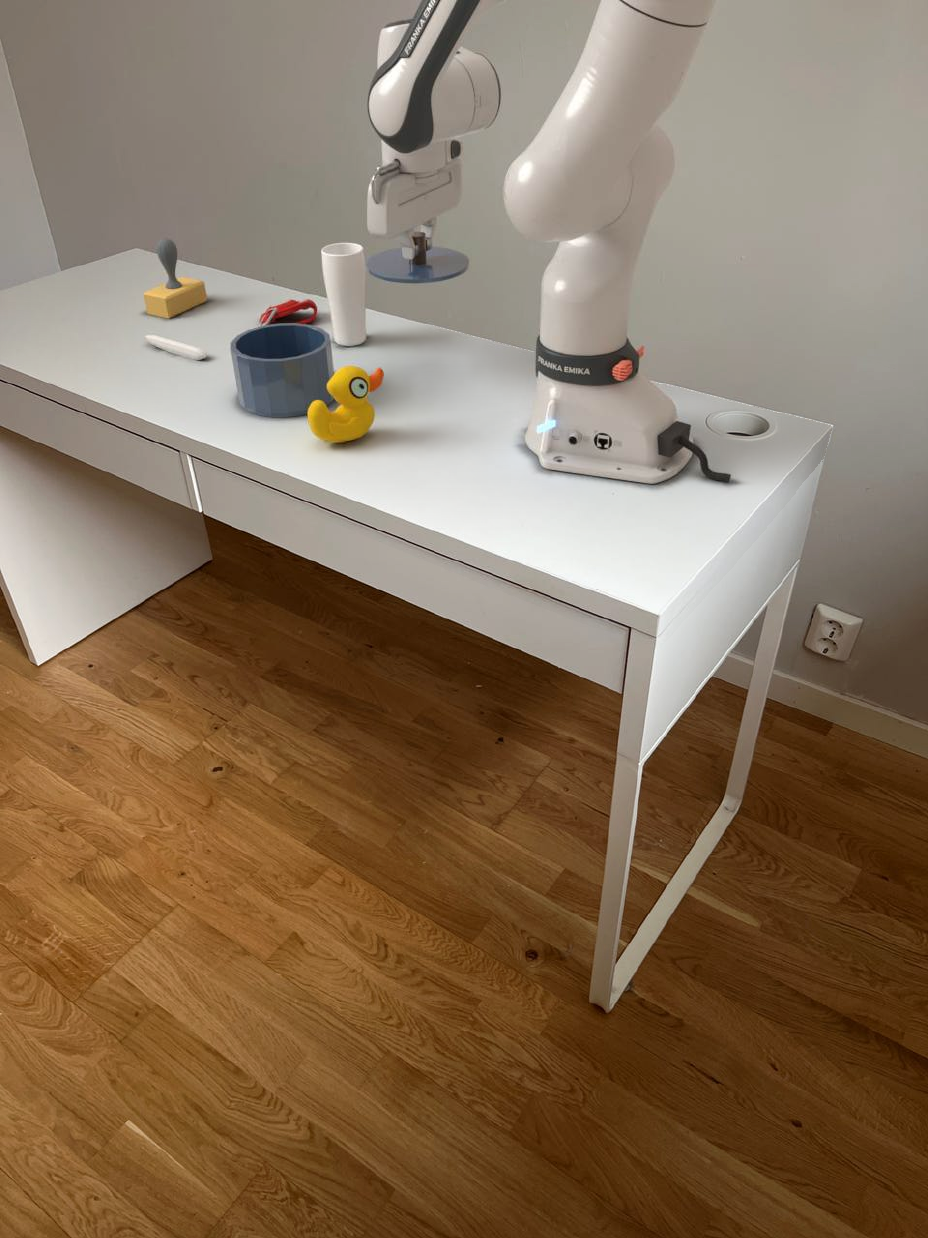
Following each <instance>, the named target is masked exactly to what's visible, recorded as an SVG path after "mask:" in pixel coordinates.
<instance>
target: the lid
mask: <svg viewBox="0 0 928 1238" xmlns="http://www.w3.org/2000/svg"><path fill="white" fill-rule="evenodd" d="M412 239H413V242H414V244H416V245H418V256H417V257H415V258H413V259H411V260H410V259H405V258H404V257H403V252H402V246H401V247H395V248H391V249H387V250H383V251H381V252H378V253H375V254H373V255H372V256H371V257H369V258H368V259H367V260H366V262H365V270H366V272H367V273H368V274H370V275H371V276H373V277H374V278H376V279H379V280H382V281H387V282H391V283H399V284H430V283H437V282H443V281H447V280H451V279H455V278H456V277H460V276H461V275H463V274H465V273H466V272H467V271H468V270H469V268H470V258H469V257H468V256H467V255H466V254H464V253H462V252H460V251H458V250H455V249H453V248H452V249H451V248H446V247H440V246H433V245H432V249H430V250H428V251H426V234H425V233H424V232H420V231H414V235H413V236H412Z"/></svg>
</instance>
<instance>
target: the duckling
mask: <svg viewBox="0 0 928 1238" xmlns="http://www.w3.org/2000/svg"><path fill="white" fill-rule="evenodd" d="M384 376H385V372H384V369H383V368H382V367H377V368H376V370H375V371H374V372H373V373H372V374H370V375H369V374H368V373H367V372H366V371H365V370H364V369H363V368H361V367H358V366H356V365H345V366H343V367H340V368H339V369H338V370H336V372H334V375H333V376H332V378H331V379H330V380H329V381H328V383H327V390H328V392H329V393H330V394H331V395H332V396H333V397H334V399H333V400H335V401H336V403H338V404H340V405H339V406H338V407H337V408H335V410H333V411H330V409H329V407H328V405H327V406H326V405H325V403H324V402H323V401H321V400H315V401H313V402H312V403H311V405H310V407H309V409H308V414H307V422H308V423H309V424H308V425H309V428H310V430H311V432H312V434H313V435H314V436H315V437H316V438H318V439H319V440H321V441H323V442H326V443H327V442H328V443H336V444H337V443H338V444H339V443H345V442H350V441H355V440H358V439H360V438H362V437H363V436H365V434H367V432H368V431H369V430H370V428H371V427H372V425H373V423H374V421H375V417H376V416H375V414H376V413H375V409H374V407H373V405H372V404H371V402H370V401H368V400H367V398H368V396H369V393H373V392H375V391H377V389H379V388H380V387H381V386H382V384H383V381H384Z"/></svg>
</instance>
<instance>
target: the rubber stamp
mask: <svg viewBox="0 0 928 1238" xmlns="http://www.w3.org/2000/svg"><path fill="white" fill-rule="evenodd" d="M156 254H157V256H158V259H159V261H160V263H161V265H162V267H163V268H164V270H165V272H166V274H167V278H168V281H167V282H164V283H162V284H161V285H158V286H155V287H154V288H151V289H149V290H147V291H144V292H143V299H144V304H145V309H146V313H147V315H150V316H154V317H159V318H165V319H168V320H169V319H171V318H173V317H176V316H178V315H180V314H182V313H185V312H186V311H189V310H191V309H193V308H195V307H197V306H200V305H202V304H204V303H206V302H208V297H207V296H208V295H207V291H206V285H205V281H203V280H199V279H194V278H189V277H184V276H179V277H176V268H177V263H178V262H177V261H178V248H177V245H176V243H175V242H174V241H173V240H171V239H170V238H167V237H166V238H161V239H159V241H158V242H157V243H156Z"/></svg>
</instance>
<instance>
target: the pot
mask: <svg viewBox="0 0 928 1238" xmlns="http://www.w3.org/2000/svg"><path fill="white" fill-rule="evenodd" d="M229 349H230V354H231V361H232V367H233V368H232V369H233V373H234V379H235V386H236V391H237V392H236V393H237V397H238V398H237V399H238V402H239V405H240V407H242V408H243V409H244V410H245V411H246V412H248V413H251V414H253V415H256V416H261V417H267V418H291V417H298V416H303V415H308V409H309V407H310V405H311V403H312V402H313V401H315V400H321V401H323V402H324V403H325V405H326V406H327V407H328V405H329V404H331V403H332V401H333V400H335V399H334V397H333V396H332V395H331V394H330V393H329V392H328V390H327V383H328V381H329V380H330V379H331V378H332V376H333V375H334V374H335V369H334V362H333V352H332V351H333V350H332V340H331V336H330V333H328V332H327V331H326V330H324V329H323V328H321V327H318V326H315V325H312V324H298V323H295V322H291V323H289V322H286V323H281V322H280V323H273V324H269V325H266V326H261V327H258V326H257V327H254V328H251V329H247V330H244V331H243V332H241V333H239V334H238V335H236V336H235V337H234V338H233V339H232V340H231V341H230V348H229Z"/></svg>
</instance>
